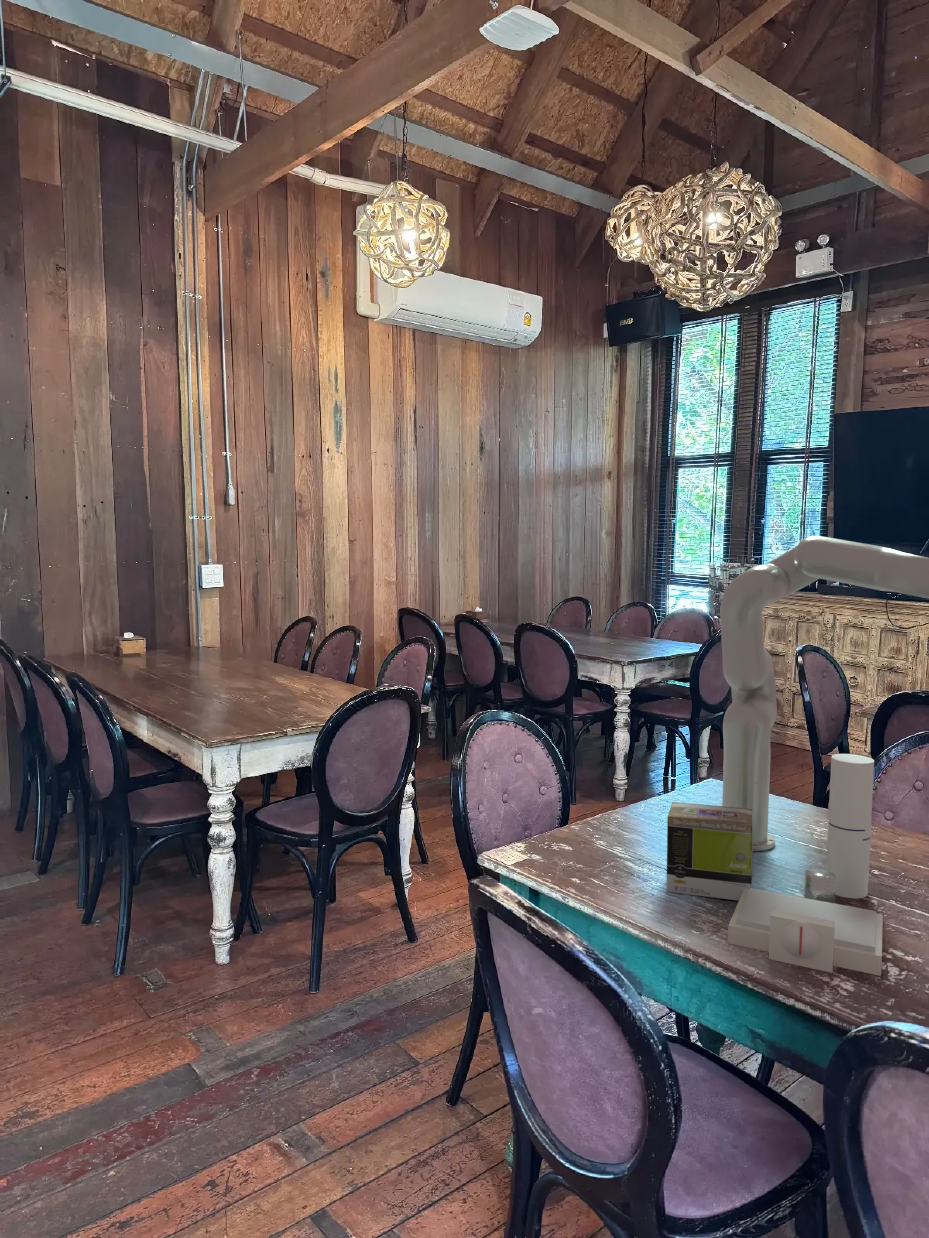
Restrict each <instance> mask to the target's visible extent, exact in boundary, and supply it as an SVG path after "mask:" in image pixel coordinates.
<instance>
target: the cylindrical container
mask: <svg viewBox="0 0 929 1238" xmlns="http://www.w3.org/2000/svg"><path fill="white" fill-rule="evenodd" d="M874 774H875V760H874V759H873V758H872V757H869V756H866V755H860V754H855V753H853V754H852V753H834V754H832V755H831V761H830V776H829V777H830V782H829V783H830V784H829V802H828V805H829V806H828V826H827V828H828V829H827V845H826V848H827V850H826V869H825V870H828V871H830V872H833V873H834V874H835V875H836V887H835V896H838V897H843V898H845V899H846V898H848V899H863V898H865V897H867V896H868V894H869V877H870V876H869V875H870V853H871V834H872V833H871V832H872V814H873V794H874Z"/></svg>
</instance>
